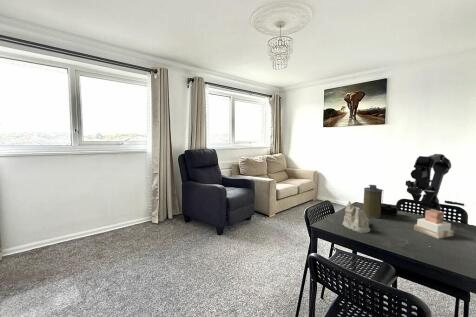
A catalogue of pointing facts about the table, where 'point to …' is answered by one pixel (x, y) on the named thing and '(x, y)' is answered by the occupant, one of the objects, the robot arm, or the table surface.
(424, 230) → the birch base slab
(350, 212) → the ceramic cottage
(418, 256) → the table surface
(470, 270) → the table surface
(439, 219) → the terracotta cube
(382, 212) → the end cap
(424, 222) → the cream top slab
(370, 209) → the canister
